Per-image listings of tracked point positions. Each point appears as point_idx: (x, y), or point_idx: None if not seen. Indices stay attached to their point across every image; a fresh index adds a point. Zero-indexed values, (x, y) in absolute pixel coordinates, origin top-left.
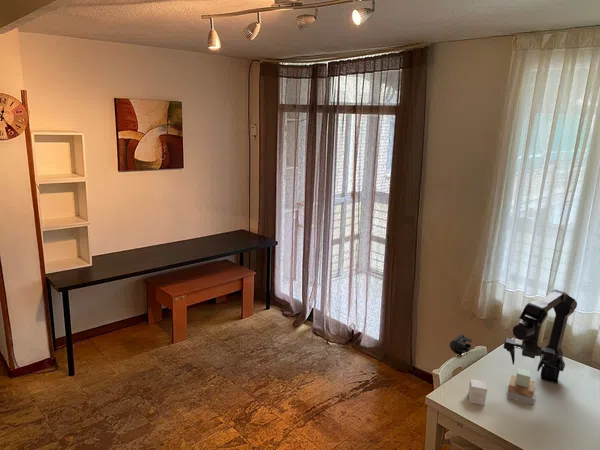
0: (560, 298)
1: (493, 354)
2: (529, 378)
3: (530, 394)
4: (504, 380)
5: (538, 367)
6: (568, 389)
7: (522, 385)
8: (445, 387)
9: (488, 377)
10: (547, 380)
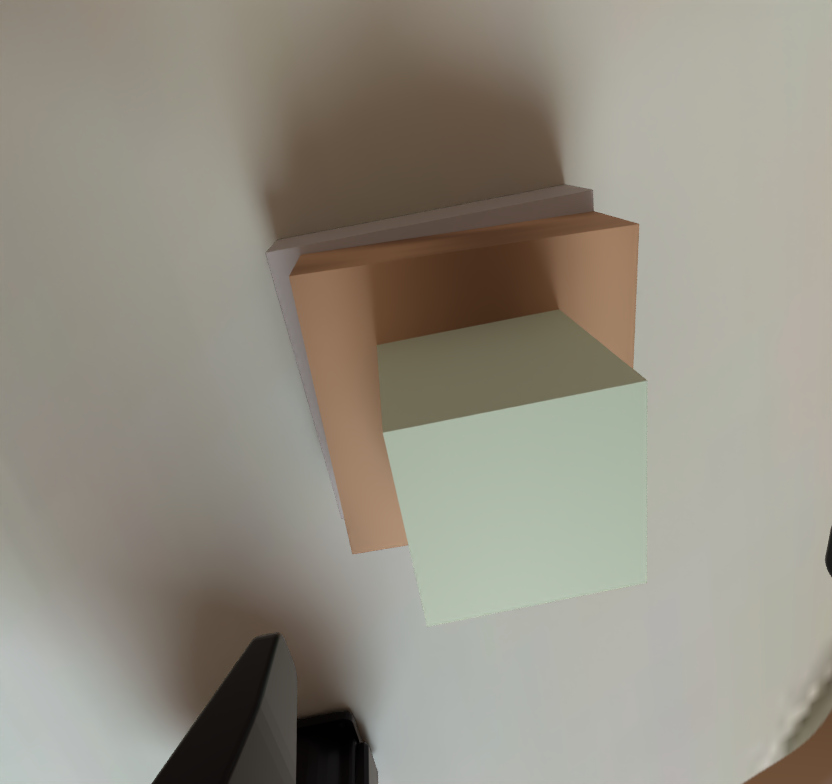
0: None
1: (734, 768)
2: (394, 410)
3: (322, 260)
4: None
5: (233, 738)
6: (132, 717)
7: (462, 331)
8: None
9: (772, 433)
10: (305, 721)
